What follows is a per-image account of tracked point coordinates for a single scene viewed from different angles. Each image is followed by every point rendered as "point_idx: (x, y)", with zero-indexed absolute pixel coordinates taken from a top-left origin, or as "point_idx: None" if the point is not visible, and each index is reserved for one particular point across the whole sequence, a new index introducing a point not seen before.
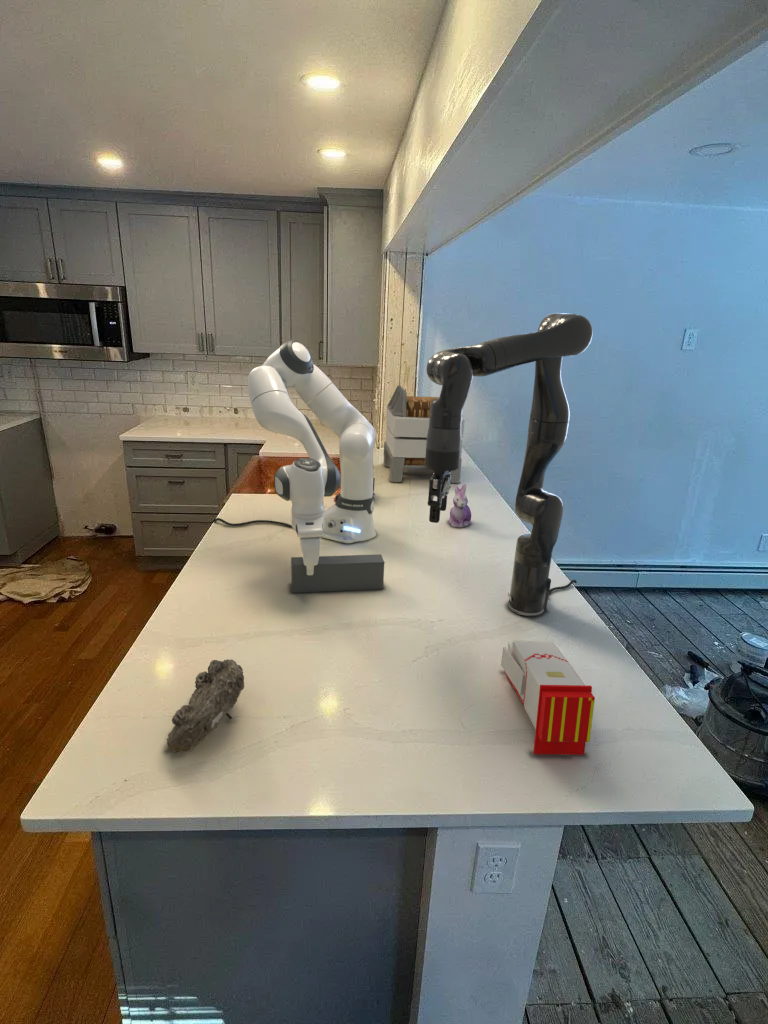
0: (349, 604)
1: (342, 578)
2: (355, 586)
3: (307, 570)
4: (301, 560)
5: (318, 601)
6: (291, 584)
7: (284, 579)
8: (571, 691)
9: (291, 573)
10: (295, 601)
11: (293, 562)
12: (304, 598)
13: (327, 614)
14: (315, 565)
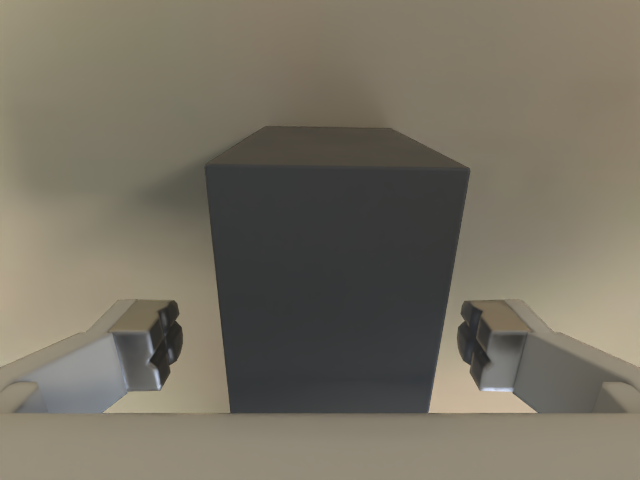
0: (137, 400)
1: None
2: None
3: (93, 331)
4: (342, 290)
5: (159, 273)
6: (369, 128)
7: (480, 79)
8: None
9: (319, 142)
10: (151, 144)
11: (292, 193)
12: (192, 201)
13: (23, 304)
14: (233, 401)
